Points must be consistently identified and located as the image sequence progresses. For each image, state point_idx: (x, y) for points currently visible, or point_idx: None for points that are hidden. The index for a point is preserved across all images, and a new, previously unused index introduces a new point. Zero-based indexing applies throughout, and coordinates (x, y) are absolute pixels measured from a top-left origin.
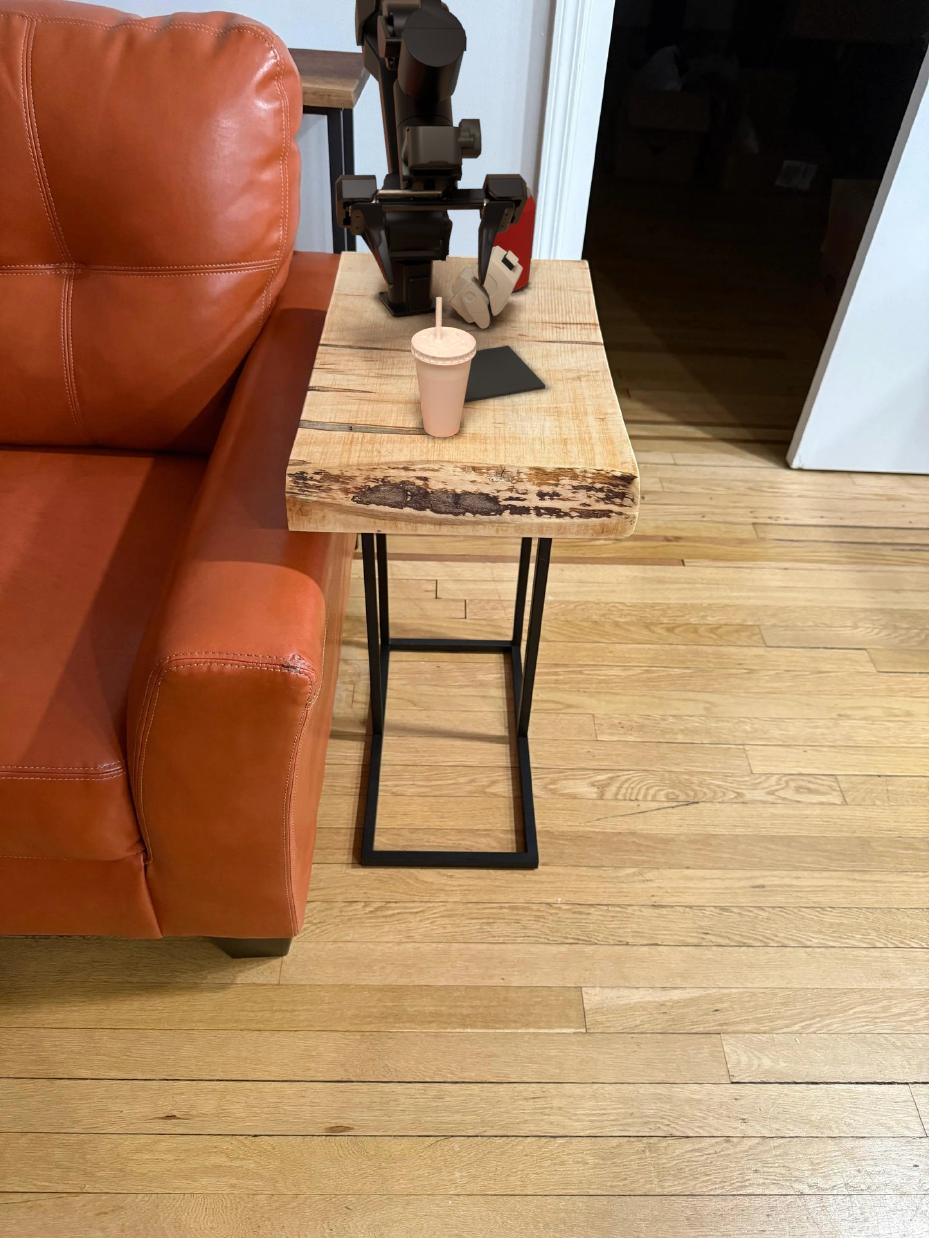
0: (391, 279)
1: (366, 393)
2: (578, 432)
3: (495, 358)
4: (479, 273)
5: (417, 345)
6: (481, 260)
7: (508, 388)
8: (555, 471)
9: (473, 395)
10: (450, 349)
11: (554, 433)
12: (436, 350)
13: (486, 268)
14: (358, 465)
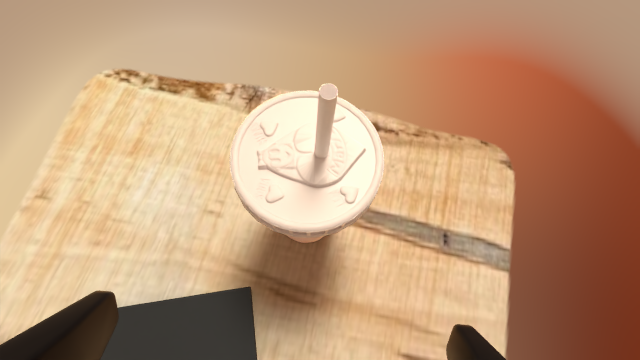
0: (465, 333)
1: (415, 354)
2: (101, 166)
3: None
4: (91, 339)
5: (372, 148)
6: (48, 343)
7: (151, 313)
8: (183, 87)
9: (225, 298)
10: (300, 120)
11: (139, 170)
12: (334, 115)
13: (53, 318)
14: (437, 145)
